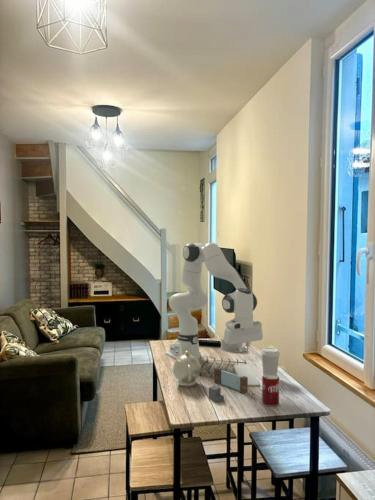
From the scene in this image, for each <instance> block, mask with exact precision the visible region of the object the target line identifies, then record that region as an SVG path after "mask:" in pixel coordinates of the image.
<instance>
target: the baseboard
mask: <svg viewBox="0 0 375 500" xmlns="http://www.w3.org/2000/svg"><path fill="white" fill-rule="evenodd" d="M250 365H251V364H249V362H247V363H234V364H233V368H234V370H235V372H236V375H239V376H242V377H243V376H246V377H248V387H261V384H260V382H259V379H257V376H256V374H255V373H254V371H253V369H252V367H251V366H250Z"/></svg>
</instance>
